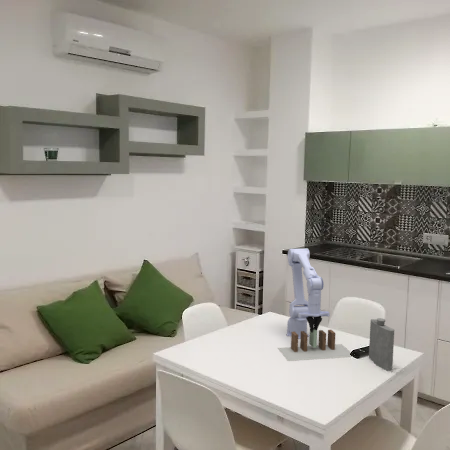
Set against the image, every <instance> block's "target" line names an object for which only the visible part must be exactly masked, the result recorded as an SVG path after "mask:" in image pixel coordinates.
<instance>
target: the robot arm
mask: <svg viewBox="0 0 450 450" xmlns="http://www.w3.org/2000/svg"><path fill="white" fill-rule="evenodd" d="M310 252H311V251H310V250H309V248H307V247H306V248H289V249H288V251H287V263H288V265H289V266H290V267H291V271H292V283H293V284H292V285H293V294H294V300H292V301H291V302H290V303H289V310H288V311H289V318H288V320H287V326H286V328H287V329H286V331H287V332H286V336H287V337H291V332H296V333H297V334H298V340H300V337H301V331H304V332H305V333H307V334H308V326H309V333H310V332H311V333H313V330H314V329H315V330H317V331H318V329H319V326H320V324H321V323H322V321H323V318H322V317H329V318H330V314H331V313H330V311H325V310H321V309H322V308H321V307H322V305H321V303H322V291H323V290H324V287H325V285H324V279H323V278H322V276H319V274H318V273H317V272H316V268H315V267H313V266H312V265H311V263H310V257H311V256H310V254H311V253H310ZM303 276H304V277H303ZM304 278H305V280H306V289H307V295H308V296H307V297H308V298H307V299H305V291H304V289H305V288H304V281H303V279H304ZM309 336H310V334H308V338H309Z"/></svg>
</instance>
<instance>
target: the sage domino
mask: <svg viewBox="0 0 450 450" xmlns="http://www.w3.org/2000/svg"><path fill="white" fill-rule="evenodd" d="M309 335H310V336H309V337H308V338H309V340H308V344H309V346H312V347H313V348H315V347H317V346H318V345H317V344H318V329H317V330H315V329H314V330H313V333H311V332H310V331H309Z"/></svg>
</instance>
